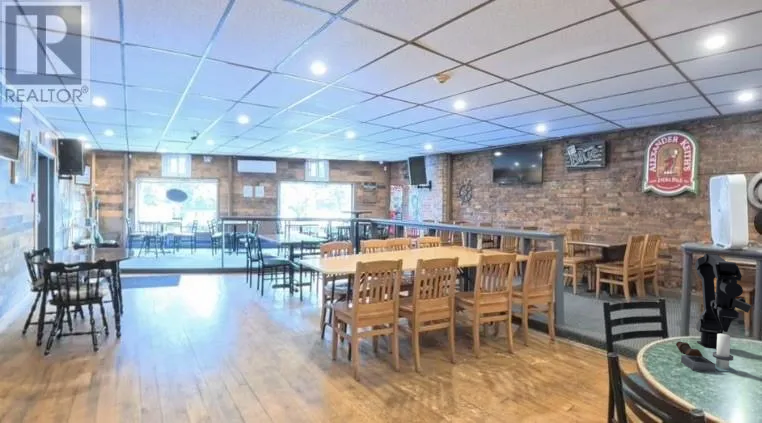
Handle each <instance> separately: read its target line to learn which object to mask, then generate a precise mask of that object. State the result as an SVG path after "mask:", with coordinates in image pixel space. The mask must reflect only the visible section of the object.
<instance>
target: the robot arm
mask: <svg viewBox="0 0 762 423" xmlns="http://www.w3.org/2000/svg"><path fill="white" fill-rule="evenodd" d="M694 267H695V268H694V269H695V270H696V273H697V276H698V277H699V279H701V287H702V288H701V290H702V301H703V302H702V303H703V311H702V312H701V313H700V315H699V319H698V321H697V323H696V330H697V331H698V332H699V333H700V341H699V340H697V341H696V343H697V344H699V345H701V346H702V347H704V348H716V349H717V334H724V333H728V332H729V331H728V330H729V329H730V326H731V324H732V321H735V320H737V319H739V315H740V314H739V312H738V311H737V310H736V309H738V310H741V311H742V312H744V313H746V314H748V313H749V312H750V310H751V308H752V305H751V304H750V303H748V302H746V299H745V298H743V297H740V296H741V295H742V294H743V292H744V289H743V287H742V285H740V284H739V283H738V281H740V282H741V281H742V273H741V270H740V268H739V266H738V265H737V264H736V262H733V261H726V259H724V258H723V257H721V256H720V254H718V253H713V252H711V253H709V252H708V253H704V255H703V256H701V257H699V258H697V260H696V261H695V264H694ZM715 279H716V282H715ZM715 283H716V284H715ZM738 297H739V298H738Z"/></svg>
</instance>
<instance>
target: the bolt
mask: <svg viewBox="0 0 762 423" xmlns="http://www.w3.org/2000/svg"><path fill="white" fill-rule="evenodd" d="M675 346H676V347H677V350H678V351H679V352H680V353H682V354H685V355H688V356H703V354H702V352H701V351H700V349H698V348H692V347H691V346H690V344H689V343H688V342H684V341H677V342H676V344H675Z"/></svg>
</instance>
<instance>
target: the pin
mask: <svg viewBox="0 0 762 423" xmlns="http://www.w3.org/2000/svg"><path fill="white" fill-rule="evenodd" d="M730 348H731V336H730V335H729V334H726V333H722V334H717V348H716V351H713V352H712V357H713V358H715V364H716V367H718V368H721V369H729V366H730V361H734V356H733V355H732V354H730V351H731V349H730Z"/></svg>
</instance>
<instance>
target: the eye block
mask: <svg viewBox="0 0 762 423" xmlns="http://www.w3.org/2000/svg"><path fill="white" fill-rule="evenodd" d="M680 363H681V364H683V365H684V366H686V367H687V368H688V369H690V370H691V371H693V372H695V371H696V372H697V371H698V372H714V373H715V372H716V370H715V364H716V363H715V362H713V361H710V360H709V359H708V358H706V357H705V356H703V355H702V356H688V355H686V354H681V355H680Z"/></svg>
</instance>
